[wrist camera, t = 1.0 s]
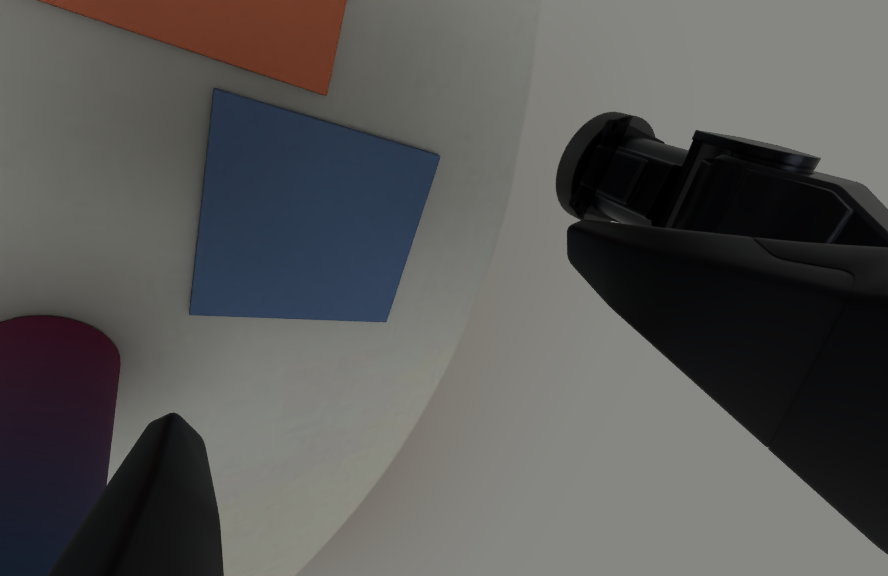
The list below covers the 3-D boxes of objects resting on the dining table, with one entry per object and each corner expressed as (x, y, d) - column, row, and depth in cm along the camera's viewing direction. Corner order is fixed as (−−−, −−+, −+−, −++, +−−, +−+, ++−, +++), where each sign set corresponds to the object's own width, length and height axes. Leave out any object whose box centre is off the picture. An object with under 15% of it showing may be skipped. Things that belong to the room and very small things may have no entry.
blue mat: (437, 154, 21) (440, 156, 21) (384, 318, 25) (386, 322, 25) (213, 87, 16) (213, 88, 15) (189, 310, 19) (189, 315, 19)
